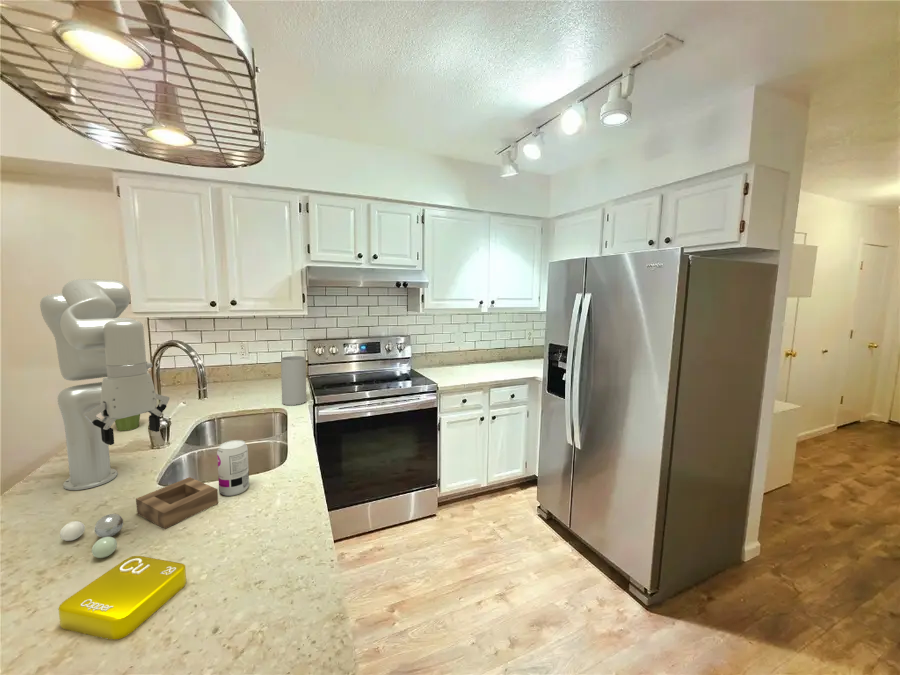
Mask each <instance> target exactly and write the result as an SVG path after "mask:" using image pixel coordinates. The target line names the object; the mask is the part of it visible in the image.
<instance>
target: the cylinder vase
mask: <svg viewBox="0 0 900 675" xmlns="http://www.w3.org/2000/svg"><path fill="white" fill-rule="evenodd" d="M306 360H307V358H306V356H302V355H292V356H291V355H290V356H289V355H288V356H283V357H280V369H281V370H280V371H281V372H280V374H281V375H280V376H281V379H280V380H281V402H282V403H281V404H283V405H284V404H285V406H290V405H293V406H297V405H296V404H300V405H302V404H301V403H303V404H305V403H306V402H307V363H306V362H307V361H306ZM304 402H305V403H304Z"/></svg>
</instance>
